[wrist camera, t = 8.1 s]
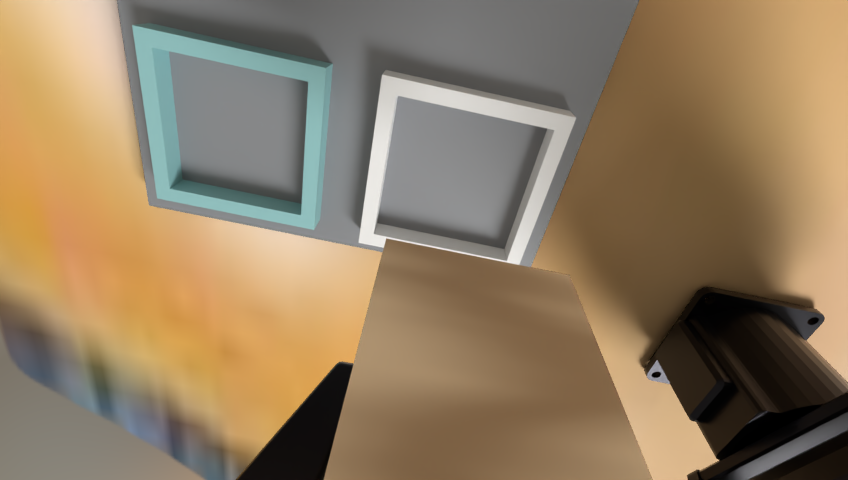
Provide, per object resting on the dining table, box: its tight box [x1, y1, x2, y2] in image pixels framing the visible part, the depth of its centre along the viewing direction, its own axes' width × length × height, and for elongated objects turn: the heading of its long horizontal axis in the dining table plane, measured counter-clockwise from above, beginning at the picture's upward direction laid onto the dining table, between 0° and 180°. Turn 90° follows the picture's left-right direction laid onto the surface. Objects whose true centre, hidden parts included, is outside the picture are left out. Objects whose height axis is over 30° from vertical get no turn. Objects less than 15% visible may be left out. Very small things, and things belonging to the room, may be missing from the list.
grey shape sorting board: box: [117, 0, 639, 267], centre depth 15 cm, size 18×18×4 cm
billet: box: [324, 238, 653, 480], centre depth 7 cm, size 4×4×7 cm
